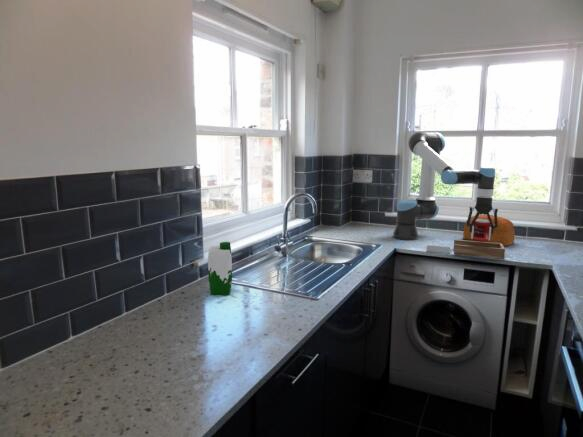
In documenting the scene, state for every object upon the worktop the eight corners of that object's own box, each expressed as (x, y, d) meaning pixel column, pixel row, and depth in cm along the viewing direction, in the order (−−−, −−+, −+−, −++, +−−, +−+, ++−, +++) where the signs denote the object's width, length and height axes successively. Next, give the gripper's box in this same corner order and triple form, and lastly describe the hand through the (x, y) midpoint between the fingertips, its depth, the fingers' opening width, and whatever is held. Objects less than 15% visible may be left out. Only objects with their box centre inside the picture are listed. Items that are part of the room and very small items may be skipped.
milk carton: (231, 296, 159) (230, 245, 155) (208, 296, 158) (206, 246, 154) (233, 288, 167) (231, 240, 164) (210, 288, 167) (208, 240, 163)
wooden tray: (453, 248, 232) (454, 239, 231) (501, 252, 224) (501, 243, 223) (453, 254, 220) (454, 245, 219) (504, 258, 211) (505, 249, 210)
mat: (427, 245, 237) (427, 245, 237) (449, 247, 233) (449, 247, 233) (426, 251, 224) (426, 251, 224) (449, 253, 220) (450, 253, 220)
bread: (471, 235, 265) (473, 211, 262) (516, 242, 246) (518, 216, 243) (460, 239, 254) (462, 214, 251) (505, 247, 235) (508, 220, 232)
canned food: (485, 238, 224) (487, 218, 222) (490, 242, 216) (492, 221, 214) (470, 238, 225) (472, 218, 222) (475, 241, 217) (477, 221, 215)
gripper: (463, 196, 216) (459, 238, 220) (507, 198, 209) (502, 242, 213) (463, 194, 223) (459, 235, 227) (505, 196, 216) (500, 239, 220)
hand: (480, 239), depth 220 cm, fingers closed on canned food, 8 cm apart
